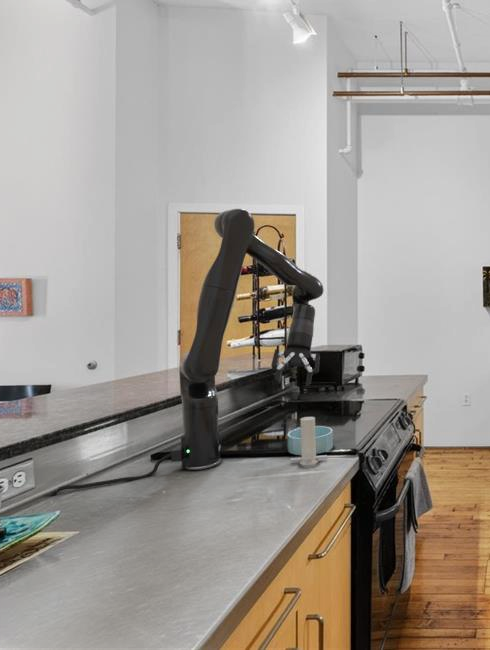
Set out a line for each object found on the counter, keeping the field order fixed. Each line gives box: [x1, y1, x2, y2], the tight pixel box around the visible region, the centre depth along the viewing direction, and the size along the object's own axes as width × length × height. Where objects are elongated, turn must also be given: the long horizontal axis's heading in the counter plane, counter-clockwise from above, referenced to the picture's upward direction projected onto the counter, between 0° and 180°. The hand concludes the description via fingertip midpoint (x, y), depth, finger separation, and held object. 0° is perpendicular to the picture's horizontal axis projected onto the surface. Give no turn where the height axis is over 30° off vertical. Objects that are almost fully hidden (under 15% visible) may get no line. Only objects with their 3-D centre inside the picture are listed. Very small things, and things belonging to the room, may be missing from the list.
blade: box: [289, 416, 328, 466], centre depth 133 cm, size 10×9×13 cm
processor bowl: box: [286, 425, 334, 456], centre depth 146 cm, size 14×14×6 cm
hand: (292, 384), depth 144 cm, fingers open, 8 cm apart
